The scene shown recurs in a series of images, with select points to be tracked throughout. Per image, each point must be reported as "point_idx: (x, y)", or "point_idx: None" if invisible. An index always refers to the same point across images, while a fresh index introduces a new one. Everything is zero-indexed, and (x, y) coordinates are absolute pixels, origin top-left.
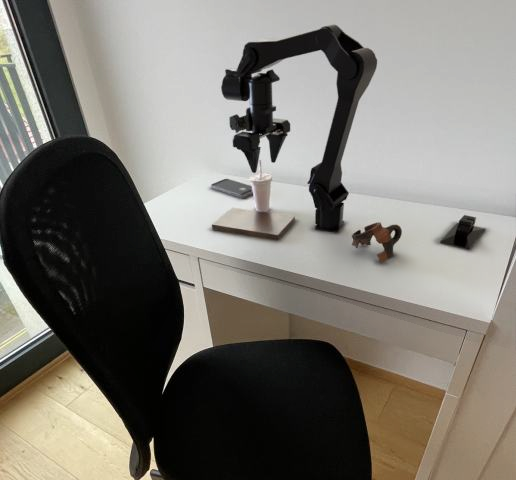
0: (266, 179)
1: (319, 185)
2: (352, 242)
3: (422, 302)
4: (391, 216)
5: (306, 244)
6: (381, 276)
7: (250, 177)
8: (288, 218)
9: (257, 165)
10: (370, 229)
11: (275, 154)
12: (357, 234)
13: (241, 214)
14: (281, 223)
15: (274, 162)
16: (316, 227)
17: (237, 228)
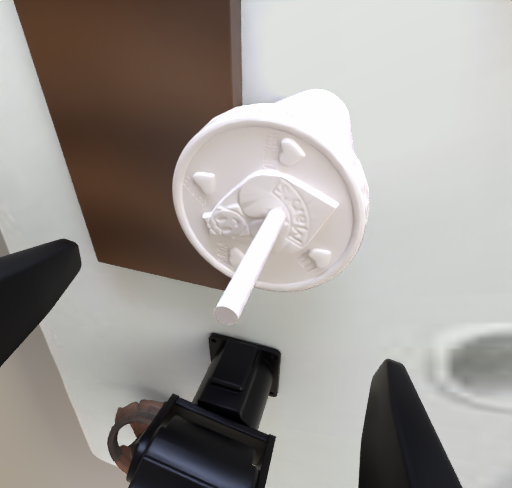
0: (232, 265)
1: (128, 481)
2: (132, 407)
3: (85, 427)
4: (345, 469)
5: (132, 315)
6: (107, 406)
7: (224, 127)
8: (212, 276)
9: (27, 331)
10: (115, 459)
11: (365, 473)
12: (113, 433)
13: (164, 58)
14: (167, 260)
15: (374, 380)
16: (216, 338)
17: (49, 107)
